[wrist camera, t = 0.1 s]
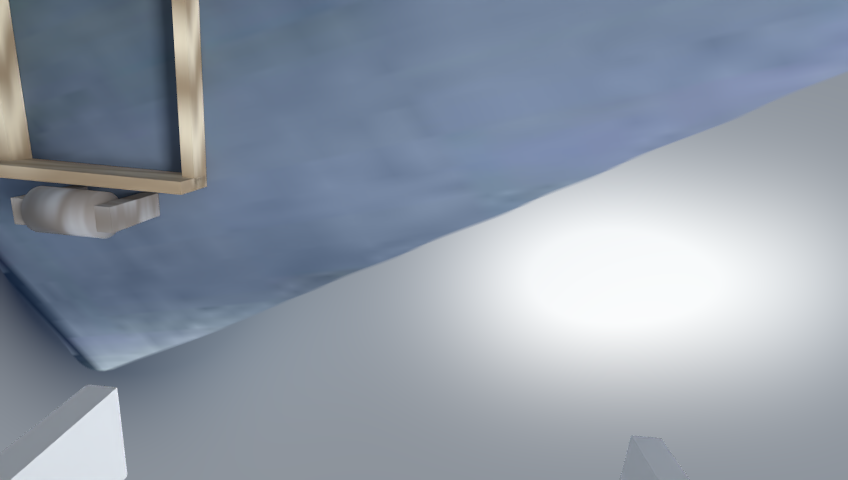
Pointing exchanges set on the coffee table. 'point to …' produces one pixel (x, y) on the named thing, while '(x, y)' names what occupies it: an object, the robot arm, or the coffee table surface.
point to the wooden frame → (95, 210)
